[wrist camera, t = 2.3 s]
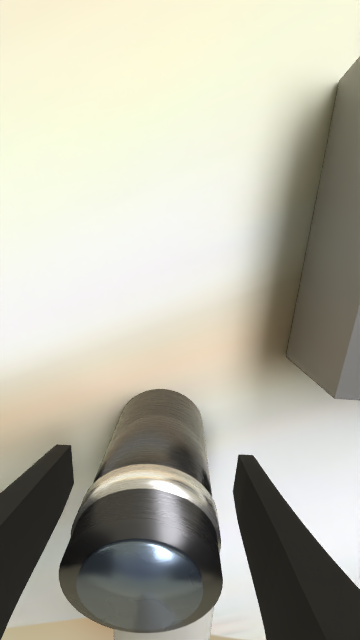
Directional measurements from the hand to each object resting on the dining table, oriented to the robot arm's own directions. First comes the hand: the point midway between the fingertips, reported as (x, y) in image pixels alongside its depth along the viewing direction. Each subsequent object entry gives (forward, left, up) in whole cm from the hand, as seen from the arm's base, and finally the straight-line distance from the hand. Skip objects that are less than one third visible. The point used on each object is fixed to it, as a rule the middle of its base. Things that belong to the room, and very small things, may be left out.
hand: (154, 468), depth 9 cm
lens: (0, 0, -3) cm, 3 cm away
